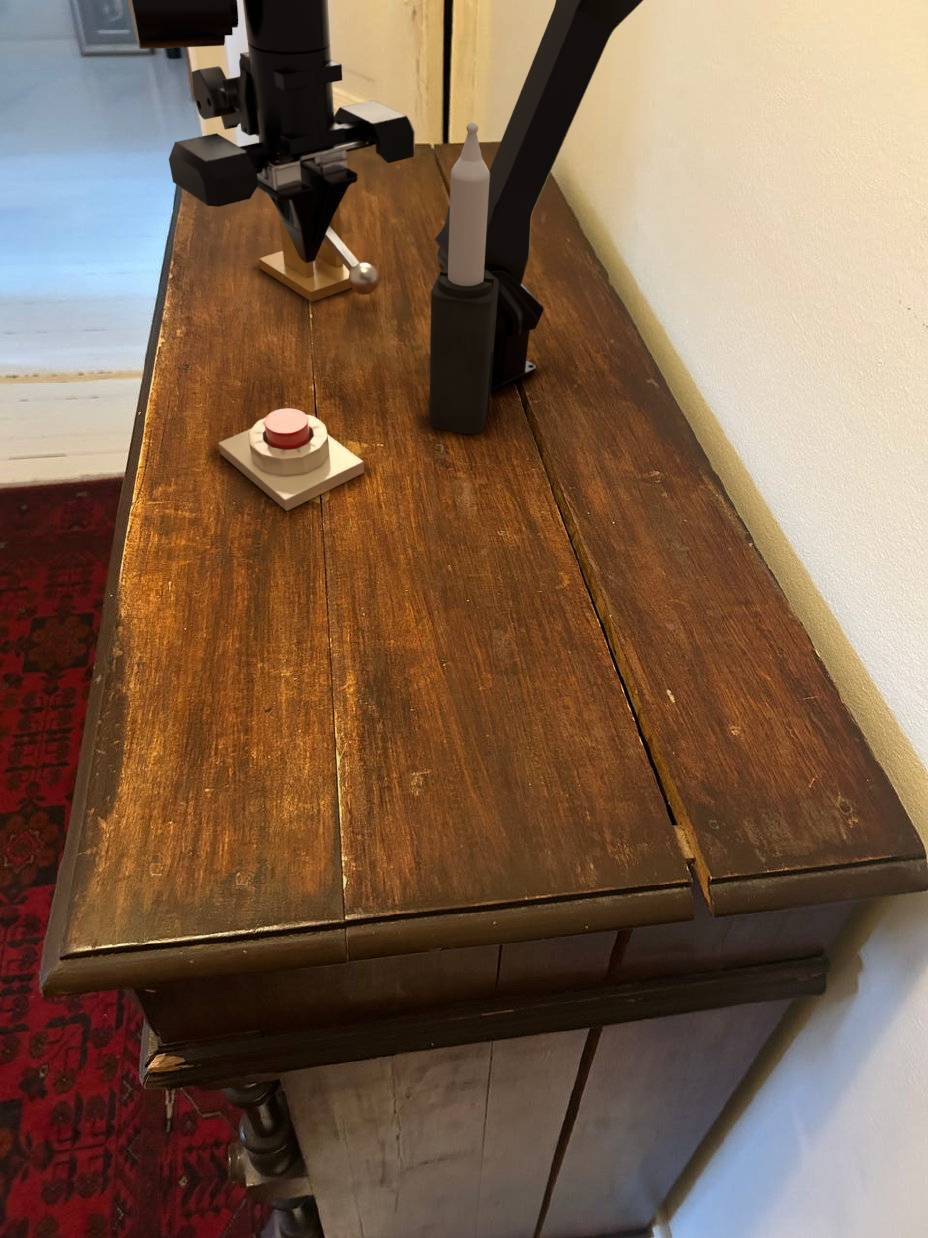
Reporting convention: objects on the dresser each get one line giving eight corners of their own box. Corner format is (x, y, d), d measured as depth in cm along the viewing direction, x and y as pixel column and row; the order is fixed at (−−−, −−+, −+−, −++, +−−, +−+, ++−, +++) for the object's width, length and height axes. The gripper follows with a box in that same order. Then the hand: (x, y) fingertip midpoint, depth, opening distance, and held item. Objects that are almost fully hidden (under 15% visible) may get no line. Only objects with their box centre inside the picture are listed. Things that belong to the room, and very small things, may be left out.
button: (318, 439, 73) (317, 422, 72) (283, 456, 71) (280, 438, 70) (293, 420, 75) (291, 403, 73) (258, 436, 73) (255, 418, 72)
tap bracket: (369, 280, 98) (366, 200, 92) (311, 302, 94) (304, 220, 88) (317, 249, 103) (310, 170, 96) (259, 268, 99) (249, 188, 92)
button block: (364, 472, 74) (362, 443, 72) (286, 511, 71) (282, 482, 68) (296, 420, 79) (293, 391, 77) (220, 453, 75) (214, 424, 73)
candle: (481, 436, 79) (501, 137, 60) (426, 427, 79) (429, 129, 61) (491, 405, 82) (513, 114, 64) (438, 397, 83) (445, 106, 64)
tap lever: (381, 295, 94) (388, 273, 91) (357, 304, 92) (363, 282, 89) (311, 210, 96) (316, 186, 93) (287, 218, 94) (291, 193, 91)
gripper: (333, 0, 69) (343, 202, 81) (111, 31, 60) (158, 252, 72) (420, 34, 64) (418, 246, 75) (190, 74, 55) (227, 306, 66)
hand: (307, 260), depth 72 cm, fingers closed
